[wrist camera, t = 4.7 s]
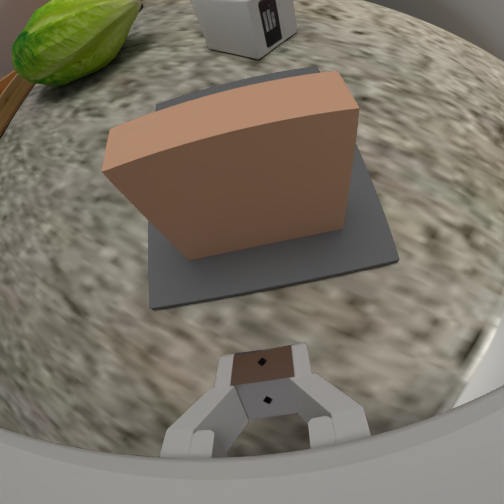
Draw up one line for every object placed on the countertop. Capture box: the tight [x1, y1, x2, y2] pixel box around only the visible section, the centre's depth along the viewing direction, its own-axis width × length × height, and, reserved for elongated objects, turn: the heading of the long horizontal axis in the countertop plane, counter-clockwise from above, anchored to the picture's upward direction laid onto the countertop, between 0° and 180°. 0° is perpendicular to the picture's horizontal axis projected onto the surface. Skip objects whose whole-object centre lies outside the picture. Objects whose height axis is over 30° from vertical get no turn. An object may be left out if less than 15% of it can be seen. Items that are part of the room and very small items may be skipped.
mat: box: [148, 66, 399, 310], centre depth 23 cm, size 16×20×1 cm
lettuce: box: [12, 0, 141, 86], centre depth 30 cm, size 15×23×16 cm
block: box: [102, 71, 359, 260], centre depth 15 cm, size 10×3×10 cm, turn 98°
